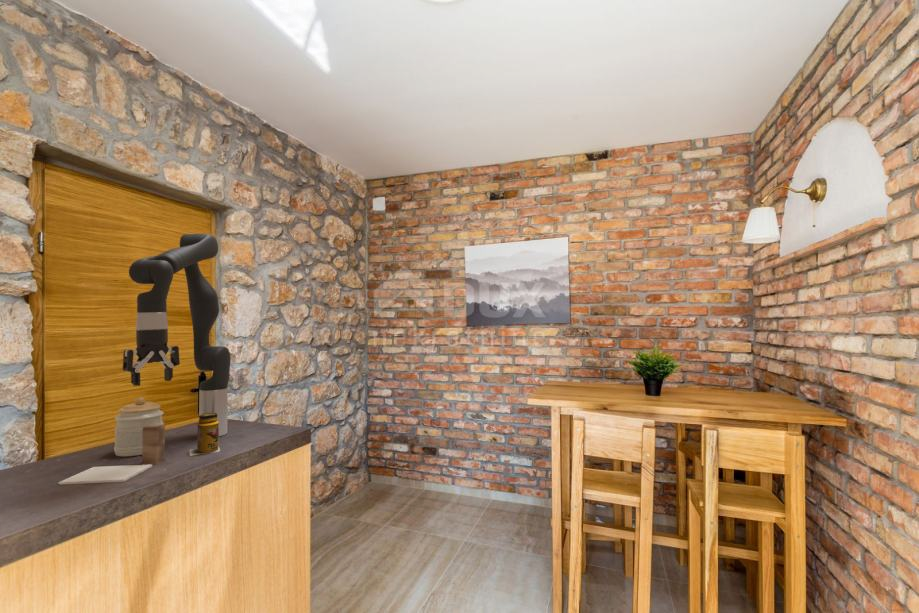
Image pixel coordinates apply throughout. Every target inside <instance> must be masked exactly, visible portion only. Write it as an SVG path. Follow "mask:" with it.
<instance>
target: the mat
mask: <svg viewBox="0 0 919 613" xmlns="http://www.w3.org/2000/svg"><path fill="white" fill-rule="evenodd" d="M150 468H153V464H150V465H142V464H133V465H131V464H130V465H108V466H92V467H91V468H87V469H85V470H83V471H81V472H78V473H77V474H74V475H72V476H70V477H67V478H65V479H62V480H60V481H58V485H79V484H80V485H81V484H102V483H103V484H104V483H123V482H126V481H128V480H130V479H132V478H133V477H135V476H137V475H140V474H141V473H143V472H145V471H147V470H149V469H150Z"/></svg>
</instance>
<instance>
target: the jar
mask: <svg viewBox="0 0 919 613" xmlns="http://www.w3.org/2000/svg"><path fill="white" fill-rule="evenodd" d="M161 406H162V405H161V404H159V403H156V402H154V401H146V399H145V398H144V397H141V396H140V397H137V398H136V399H135V401H134V403H130V404H129V403H128V404H126V405H123V406H122V407H121V408H118V410H117V411H118V415H116V416H115V417H114V420H115V421H116V426H115V427H114V447H113V448H114V449H113V450H114V454H115V456H116V457H135V456H136V457H137V456H142V445H143V427H146V426H148V425H151V424H165V423H164V421H163V417H162V416H163V415H164V414H165V413H164V412H165V411H162V410H160V408H161Z"/></svg>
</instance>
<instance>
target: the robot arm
mask: <svg viewBox="0 0 919 613" xmlns="http://www.w3.org/2000/svg"><path fill="white" fill-rule="evenodd" d="M218 252H219V242H218V240H217V239H216V237H215V236H214V235H213V234H211V233H185V234H182V235H181V236H180V239H179V247H175V248H172V249H168V250H165V251H163V252H161V253H160V254H157V255H152V256H147V257H143V258H139V259H137V260H135V261H133V262H132V263H131V265H130V266H129V268H128V276H129V277H130V279H131V280H132V281H133V282H135V283H136V284H140V285H153V287H152V288H151V289H150V290H148V291H145V292H140V293H139V294H138V295H137V297H136V320H135V330H136V331H135V337H136V340H135V342H136V343H135V344H136V348H135V349H124V350H123V356H122V371H123V372H129V373H130V383H131V385H133V387H138V386H141V372H140V371H141V370H142V368H143V367H144V366H146V365H147V364H152V363H160V364H161V365H162V366H163V367H164V369H163V370H164V371H163V372H164V376H163V378H164V380H163V381H165V382H171V381H172V379H173V378H174V375H173V374H174V371H173V370H174V368H175V367H176V366H179V365H180V364H181V363H180V361H181V360H180V349H179V348H180V347H179V346H178V345H170V346H168V341H169V340H168V338H169V337H168V335H169V328H168V327H169V322H168V314H167V311H168V310H167V299H168V295H169V291H170V288H171V285H172V282H173V278H174V275H175V274H177V273H178V272H180V271H181V270H184V273H185V278H186V286H187V293H188V303H189V310H190V316H191V317H190V318H191V322H192V323H191V324H192V332H193V359H194V360H193V361H194V364H195V367H196V369H197V370H199V371H202V372H203V371H204V372H207V371H208V372H212V376H211V377H209V378H207V379H206V380H202V381H201V382H199V393H198V394H199V395H198V396H199V401H198V402H199V406H198V407H199V410H198V413H199V414H198V415H199V416H200V415H201V414H205V413H217V415H218V416H217V418H218V419H217V421H218V422H219V437H222V436H225V435H226V434H228V403H229V402H228V397H229V396H228V391H229V388H228V387H229V386H228V385H229V380H230V375H231V374H230V373H231V372H230V370H231V352H230V350H229V348H228V347H226V346H222V345H221V346H220V345H219V346H217V345H215V346H214V345H213V346H211V344H210V334H211V331H212V328H213V326H214V324H215V322H216V320H217V319H218V316H219V313H220V305H219V304H220V303H219V296H218V294H217V291H216V290H215V288H214V287H213V286H212V285H211V283H210V282H209V281H208V280H207V279H206V277H205V276H204V275H203V273H202V271H201V269H200V266H199V262H202V261H205V260H210V259H213V258H215V257H217V255H218ZM168 353H169V356H170V357H168V355H167V354H168ZM136 356H137V358H136V360H135V361H134V358H135V357H136ZM199 416H198V417H199Z"/></svg>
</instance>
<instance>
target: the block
mask: <svg viewBox="0 0 919 613" xmlns="http://www.w3.org/2000/svg"><path fill="white" fill-rule="evenodd" d="M165 439H166V424H165V423H163V424H151V425H148V426H146V427H143V445H142V455H141V457H142V458H141V465H150V464H152V465H158V464H160V463H162V462H163V461H165V454H166V453H165V451H166V450H165V448H166V447H165V446H166V445H165V444H166V440H165Z"/></svg>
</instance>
